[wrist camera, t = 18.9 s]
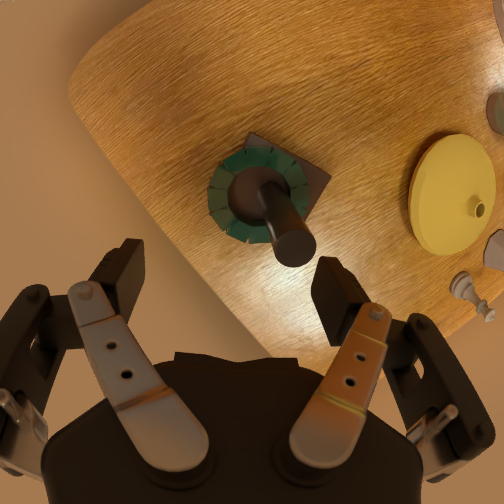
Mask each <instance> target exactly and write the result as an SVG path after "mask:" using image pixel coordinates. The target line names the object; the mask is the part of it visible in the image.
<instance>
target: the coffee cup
mask: <svg viewBox="0 0 504 504" xmlns="http://www.w3.org/2000/svg"><path fill="white" fill-rule="evenodd" d="M487 117H488V121H489V124H490V126H491V127H492V129H493V130H494V131H495V132H497V133H499V134H501V135H504V94H493V95H491V96H490V98H489V99H488V102H487Z"/></svg>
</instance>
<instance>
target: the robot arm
mask: <svg viewBox="0 0 504 504" xmlns="http://www.w3.org/2000/svg"><path fill="white" fill-rule="evenodd" d="M144 279H145V257H144V242H143V240H142V239H131V238H127V239H126V240H125V241H124V242H123V244H122V245H121V247H120V248H114V249H112V250H111V251H109V252H108V253H106V255H105V256H104V258H103V259H102V261H101V262H100V263H99V266H97V268H96V269H95V271H94V272H93V273H92V275H91V276H90V278H89V279H88V281H82V282H79V283H76V284H74V285H73V286H72V287H71V288H70V289H69V290H68V294H67V295H56V296H50V293H49V290H48V288H47V287H46V286H44V285H41V284H35V285H31V286H28V287H26V288H25V289H23V290H22V292H20V294H19V295H18V296H17V298H16V299H15V300H14V302H13V303H12V305H11V306H10V307H9V309H8V310H7V312H6V313H5V315H4V316H3V318H2V319H1V321H0V468H2V469H3V470H5V471H6V472H8V473H9V474H11V475H13V476H22V475H27V476H29V477H31V478H34V479H37V480H38V481H41V482H44V484H45V487H46V492H47V496H48V501H49V504H421V484H422V482H423V481H425V480H426V481H427V482H430V483H437V482H440V481H441V480H443V479H445V478H446V477H448V476H449V475H451V474H452V473H454V472H456V471H457V470H458V469H460V468H461V467H463V466H464V465H466V464H467V463H469V462H470V461H471V460H473V459H474V458H476V457H477V456H478V455H480V454H481V453H482V452H483V451H485V450H486V449H487V448H489V447H490V446H491V445H492V444H493V442H494V440H495V436H496V435H495V428H494V425H493V423H492V421H491V419H490V417H489V415H488V413H487V411H486V409H485V407H484V405H483V403H482V401H481V400H480V398H479V396H478V394H477V392H476V390H475V389H474V387H473V385H472V383H471V381H470V380H469V378H468V376H467V374H466V373H465V371H464V369H463V368H462V366H461V364H460V363H459V361H458V359H457V358H456V356H455V354H454V353H453V351H452V350H451V348H450V347H449V345H448V344H447V342H446V340H445V339H444V337H443V336H442V334H441V333H440V331H439V330H438V328H437V327H436V325H435V324H434V322H433V321H432V320H431V319H430V318H428V317H427V316H425V315H423V314H419V313H412V314H411V315H410V316H409V318H408V319H407V321H406V322H404V321H399V320H395V319H392V315H391V313H390V312H389V310H388V309H386V308H385V307H384V306H382V305H380V304H377V303H373V302H371V300H370V299H369V297H368V296H367V294H366V293H365V291H364V289H363V288H361V287H362V286H361V285H360V283H359V282H358V280H357V279H356V277H355V276H354V274H352V273H351V272H350V271H349V270H347V269H346V268H344V267H343V266H342V264H341V263H340V261H339V260H338V258H336V257H326V256H321V257H320V258H319V261H318V264H317V268H316V271H315V275H314V278H313V281H312V285H311V297H312V300H313V302H314V305H315V307H316V310H317V312H318V315H319V317H320V320H321V322H322V325H323V327H324V330H325V333H326V335H327V338H328V340H329V343H330V346H341V347H340V349H339V351H338V353H337V355H336V357H335V358H334V360H333V362H332V364H331V366H330V367H329V369H328V371H327V373H326V375H325V376H323V375H321V374H319V373H317V372H315V371H313V370H310V369H307V368H303V367H299V364H298V360H297V358H263V359H258V360H252V361H246V362H232V361H228V360H224V359H220V358H217V357H212V356H209V355H205V354H194V353H183V352H175V356H174V361H167V362H162V363H159V364H155V365H152V364H151V362H150V361H149V359H148V358H147V356H146V355H145V353H144V352H143V350H142V348H141V347H140V345H139V344H138V342H137V340H136V339H135V337H134V335H133V334H132V332H131V331H130V329H129V327H128V325H127V324H128V321H129V318H130V316H131V313H132V311H133V308H134V306H135V303H136V301H137V298H138V295H139V293H140V291H141V288H142V286H143V283H144ZM33 339H35V341H34V343H33V345H32V347H31V349H30V346H31V343H32V341H33ZM81 348H84V350H85V352H86V355H87V357H88V360H89V362H90V365H91V367H92V369H93V372H94V374H95V376H96V379H97V381H98V383H99V385H100V388H101V390H102V392H103V394H104V396H105V398H104V399H103V400H102V401H101V402H99V403H98V404H96V405H95V406H93V407H92V408H91V409H89V410H88V411H86V412H85V413H84V414H82V415H81V416H79V417H78V418H77V419H75V420H74V421H72V422H71V423H69V424H68V425H67V426H65V427H64V428H62V429H61V430H59V431H58V432H56V433H55V434H54V435H53V436H52V437H51V438H50V439H49V440H48V426H47V423H46V421H45V419H44V418H43V417H42V416H43V413H44V410H45V407H46V403H47V401H48V398H49V394H50V392H51V388H52V386H53V383H54V380H55V377H56V375H57V372H58V369H59V367H60V364H61V362H62V359H63V357H64V354H65V352H66V350H67V349H81ZM418 358H419V359H420V361H421V363H422V365H423V367H424V374H423V377H422V379H420V377H419V374H418V373H417V370H416V368H415V367H414V364H415V362H416V361H417V360H418ZM382 368H383V370H384V373H385V375H386V377H387V380H388V382H389V385H390V387H391V390H392V392H393V395H394V398H395V400H396V403H397V405H398V408H399V411H400V413H401V416H402V419H403V422H404V424H405V427H406V430H407V433H406V437H405V436H403V435H402V434H400V433H399V432H398V431H396V430H395V429H393V428H392V427H391V426H389V425H388V424H386V423H385V422H384V421H382V420H381V419H380V418H378V417H377V416H376V415H374V414H373V413H372V412H370V411H369V410H368V406H369V403H370V401H371V398H372V395H373V392H374V389H375V387H376V384H377V381H378V378H379V375H380V372H381V369H382Z"/></svg>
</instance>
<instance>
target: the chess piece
mask: <svg viewBox="0 0 504 504" xmlns="http://www.w3.org/2000/svg"><path fill="white" fill-rule="evenodd" d="M450 292H451V294H452V295H453V296H455V298H457V299H461V298H462V299H463V300H469V301H470V302H472V303H473V304H474V305H475V306H476V312H477V313H482V314H483V315H484V321H485V322H489V321H490V320H491V321H493V320H494V317H493V316H494V314H495V309H490V308H488V306H487V301H486V300H485V299H484V300H482V301H481V299H480V298H479V297H478V296H477V294H476V293H475V291H474V286H473V280H472V277H470V276H469V274H468V273H466V272H461V273H459V274H458V275H457V276H456V277H455V278H454V279H453V281H452V283H451V286H450Z"/></svg>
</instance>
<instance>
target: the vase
mask: <svg viewBox="0 0 504 504" xmlns="http://www.w3.org/2000/svg"><path fill="white" fill-rule="evenodd" d="M495 195H496V179H495V173H494V168H493V165H492V163H491V160H490V157H489V155H488V153H487V152H486V150H485V149H484V147H483V146H482V145H481V143H480V142H478V141H477V140H476V139H474V138H473V137H472V136H468V135H464V134H455V135H449V136H446V137H443V138H441V139H440V140H438V141H436V142H435V143H433V144H432V145H431V146H430V147H429V148H428V149H427V151H426V152H425V153H424V154H423V155H422V157H421V159H420V161H419V162H418V164H417V166H416V168H415V171H414V174H413V177H412V180H411V183H410V188H409V196H408V214H409V220H410V223H411V226H412V230H413V232H414V234H415V237H416V238H417V240H418V241H419V243H420V244H421V246H422V247H423V248H424V249H426V250H427V251H428V252H430V253H431V254H435V255H439V256H445V255H452V254H455V253H458V252H460V251H462V250H464V249H466V248H467V247H468V246H470V245H471V244H472V243H473V242H474V241H475V240H476V239H477V238H478V237H479V235H480V234H481V233H482V231H483V230H484V228H485V226H486V224H487V223H488V221H489V218H490V215H491V213H492V210H493V206H494V201H495Z"/></svg>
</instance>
